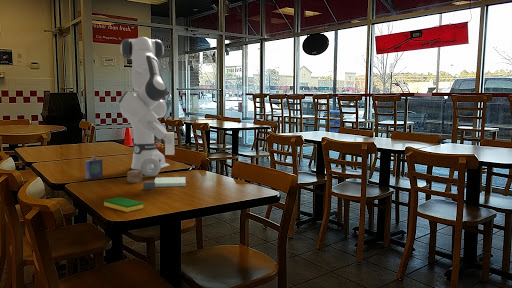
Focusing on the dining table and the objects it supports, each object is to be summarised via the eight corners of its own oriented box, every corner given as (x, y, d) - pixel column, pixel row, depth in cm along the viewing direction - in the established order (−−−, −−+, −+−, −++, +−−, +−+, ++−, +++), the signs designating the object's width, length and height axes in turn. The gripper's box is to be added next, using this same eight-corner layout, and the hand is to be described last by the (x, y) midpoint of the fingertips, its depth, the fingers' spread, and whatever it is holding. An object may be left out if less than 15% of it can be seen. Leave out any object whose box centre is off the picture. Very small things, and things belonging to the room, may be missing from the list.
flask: (87, 179, 197) (86, 157, 196) (83, 179, 199) (83, 156, 198) (104, 176, 205) (103, 155, 204) (100, 176, 207) (99, 155, 206)
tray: (155, 180, 197) (155, 177, 197) (185, 180, 199) (185, 177, 199) (153, 186, 183) (153, 183, 183) (185, 186, 186) (185, 182, 186)
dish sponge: (127, 213, 142) (126, 206, 142) (103, 206, 150) (103, 200, 150) (143, 209, 148) (143, 202, 147) (120, 202, 156) (120, 196, 156)
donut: (160, 175, 211) (159, 156, 210) (161, 176, 208) (161, 157, 207) (140, 176, 207) (139, 156, 206) (141, 177, 204) (140, 157, 203)
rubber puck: (148, 187, 182) (148, 180, 182) (157, 188, 180) (157, 181, 180) (140, 189, 178) (140, 182, 178) (149, 190, 176) (149, 183, 175)
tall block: (165, 153, 192) (165, 132, 190) (174, 153, 192) (174, 132, 191) (165, 154, 188) (165, 132, 187) (174, 154, 188) (174, 132, 187)
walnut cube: (132, 180, 198) (132, 170, 197) (142, 180, 197) (142, 170, 196) (127, 182, 193) (127, 171, 192) (137, 182, 192) (136, 172, 191)
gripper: (152, 117, 177) (175, 139, 179) (155, 115, 197) (176, 135, 199) (141, 127, 176) (165, 150, 179) (145, 124, 196) (167, 145, 199)
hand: (171, 142), depth 189 cm, fingers closed on tall block, 4 cm apart
